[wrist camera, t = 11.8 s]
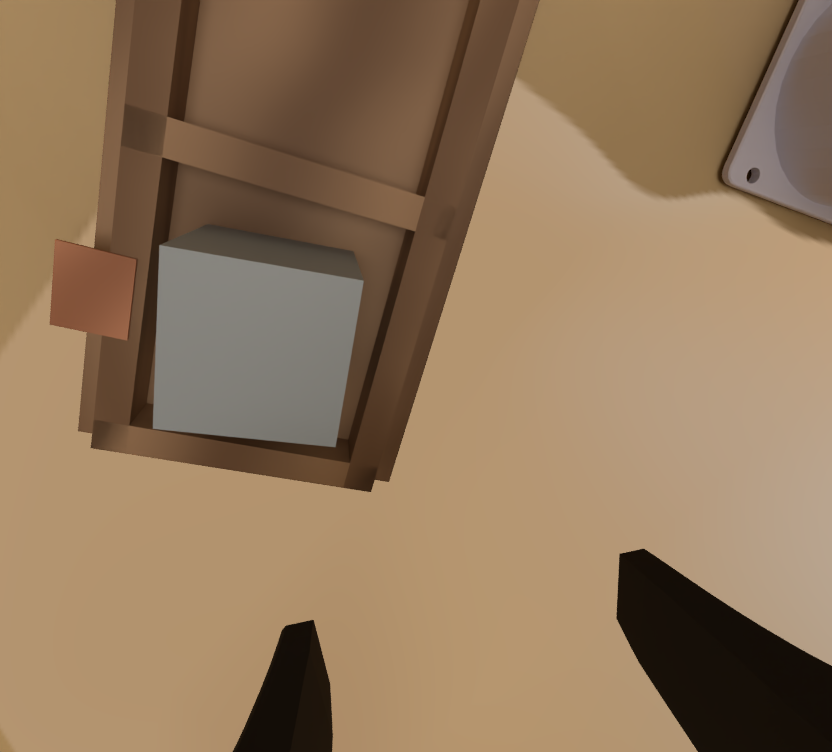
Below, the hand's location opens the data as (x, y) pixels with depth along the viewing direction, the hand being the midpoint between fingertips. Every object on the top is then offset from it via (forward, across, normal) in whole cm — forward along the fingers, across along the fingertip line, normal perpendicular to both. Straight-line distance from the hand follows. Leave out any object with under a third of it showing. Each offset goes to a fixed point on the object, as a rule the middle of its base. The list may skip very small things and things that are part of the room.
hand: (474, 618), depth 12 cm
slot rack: (+9, +2, -10) cm, 14 cm away
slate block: (+9, +4, -6) cm, 11 cm away
